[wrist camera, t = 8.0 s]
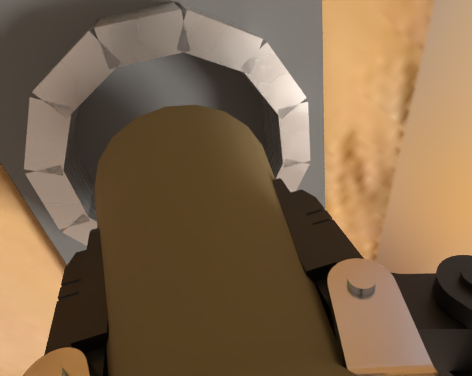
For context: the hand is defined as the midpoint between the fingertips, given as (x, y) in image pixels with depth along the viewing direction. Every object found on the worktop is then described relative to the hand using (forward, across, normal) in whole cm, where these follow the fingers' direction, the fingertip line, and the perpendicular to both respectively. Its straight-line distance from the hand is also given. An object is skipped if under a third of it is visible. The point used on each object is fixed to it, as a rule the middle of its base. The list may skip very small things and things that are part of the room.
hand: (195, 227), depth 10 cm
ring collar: (+7, 0, 0) cm, 7 cm away
